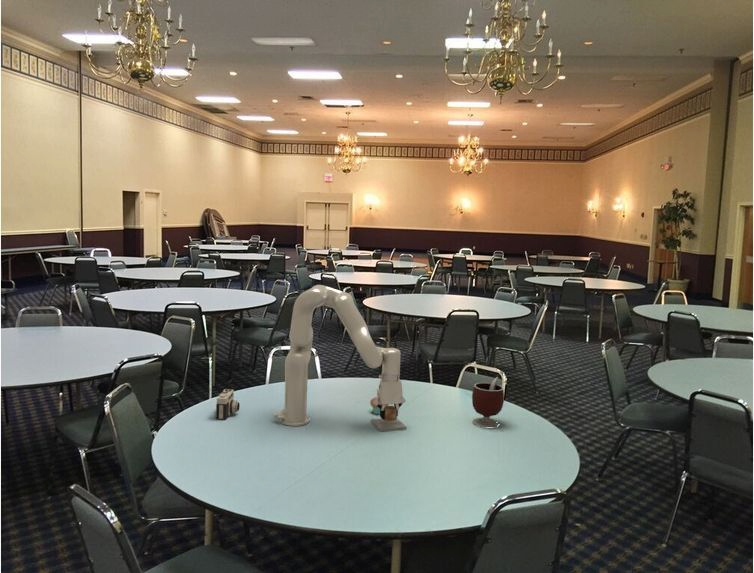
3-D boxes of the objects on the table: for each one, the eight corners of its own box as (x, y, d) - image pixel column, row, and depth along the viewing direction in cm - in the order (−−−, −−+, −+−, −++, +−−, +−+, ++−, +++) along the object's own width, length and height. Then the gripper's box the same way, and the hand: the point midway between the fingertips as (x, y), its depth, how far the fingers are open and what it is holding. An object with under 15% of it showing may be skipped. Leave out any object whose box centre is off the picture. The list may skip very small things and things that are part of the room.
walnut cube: (385, 421, 251) (385, 409, 250) (381, 417, 255) (381, 406, 255) (396, 420, 252) (396, 409, 252) (392, 416, 257) (392, 405, 256)
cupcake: (380, 416, 265) (381, 391, 264) (365, 412, 270) (367, 387, 269) (391, 412, 272) (392, 387, 271) (377, 408, 277) (378, 383, 276)
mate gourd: (493, 431, 253) (496, 386, 251) (464, 423, 261) (467, 380, 259) (508, 422, 265) (511, 379, 263) (480, 415, 274) (483, 373, 271)
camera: (234, 420, 251) (235, 398, 250) (215, 420, 251) (215, 397, 250) (241, 410, 265) (242, 388, 264) (223, 409, 265) (224, 388, 264)
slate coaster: (379, 431, 246) (380, 428, 246) (370, 422, 258) (370, 419, 258) (406, 429, 251) (406, 426, 250) (395, 420, 262) (396, 417, 262)
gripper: (374, 380, 245) (373, 422, 247) (412, 378, 251) (410, 419, 253) (369, 375, 252) (367, 416, 254) (405, 374, 258) (403, 414, 260)
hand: (388, 417), depth 254 cm, fingers closed on walnut cube, 5 cm apart
